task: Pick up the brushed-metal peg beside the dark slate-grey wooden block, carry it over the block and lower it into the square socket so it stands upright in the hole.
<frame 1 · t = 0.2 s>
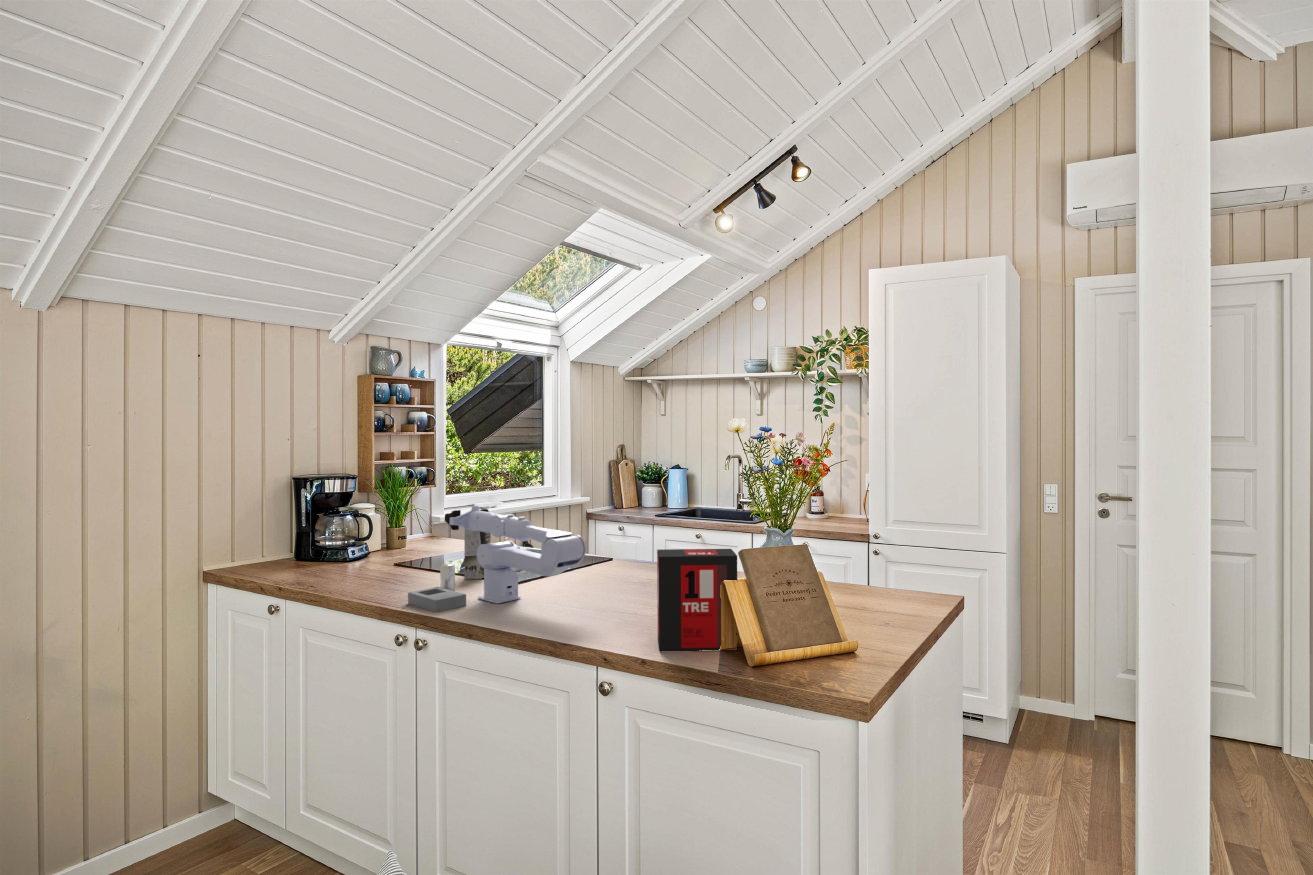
hand: (457, 516, 207), 21 cm above the table, tool horizontal, fingers open, 7 cm apart
coffee box: (478, 576, 225), on the table
peg: (447, 592, 202), on the table
socket block: (436, 604, 188), on the table
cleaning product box: (696, 645, 151), on the table
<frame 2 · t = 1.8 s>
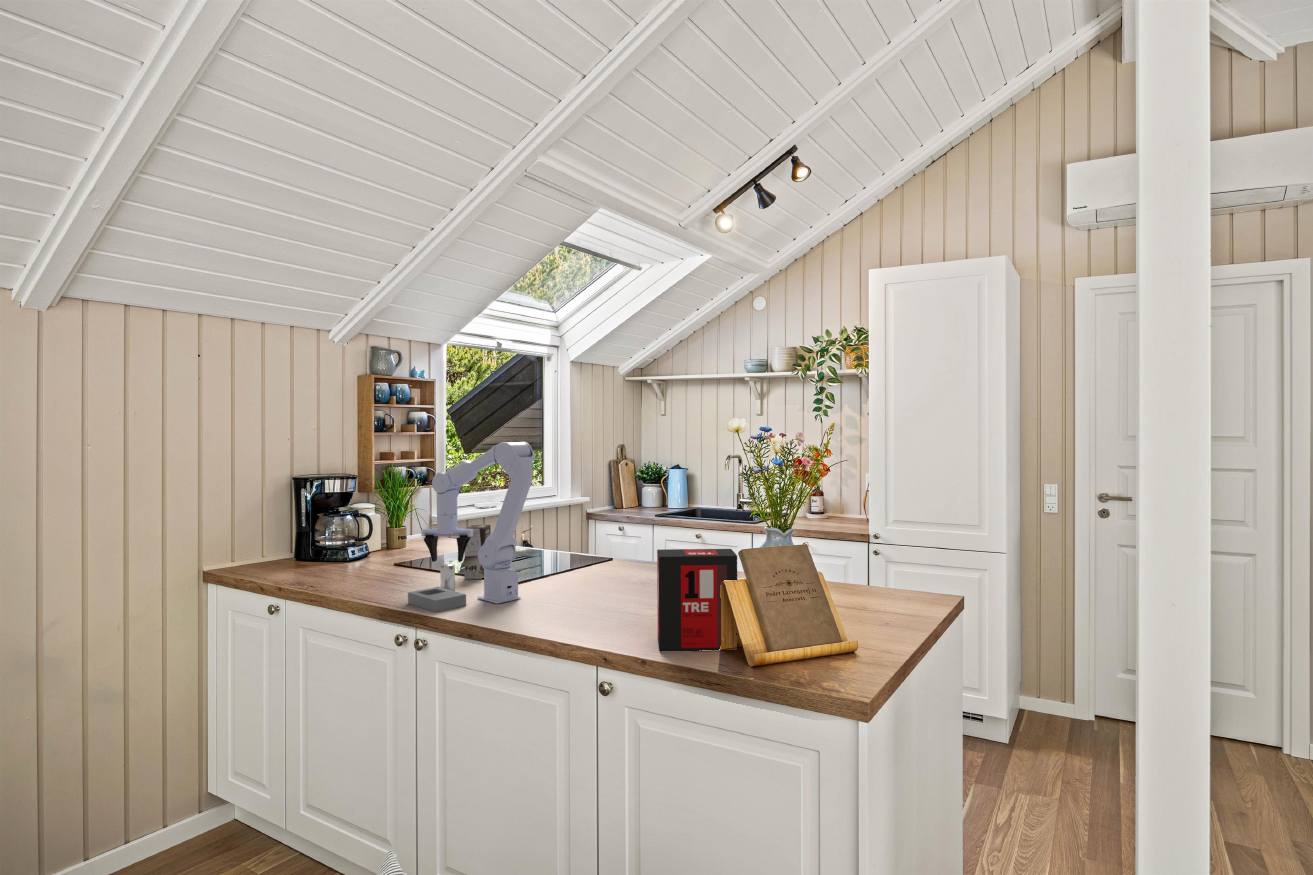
hand: (447, 561, 202), 9 cm above the table, tool pointing down, fingers open, 7 cm apart
nothing on the table moved.
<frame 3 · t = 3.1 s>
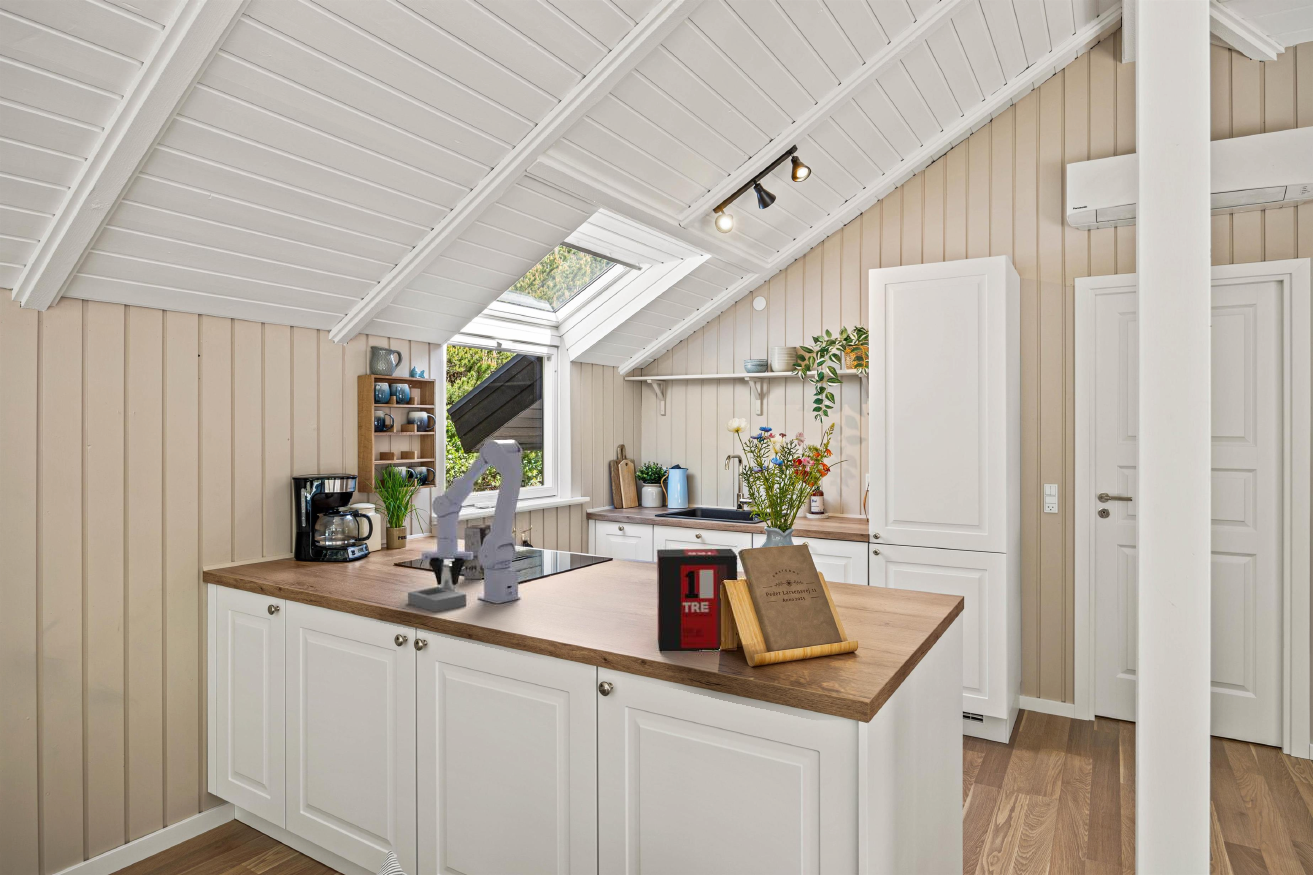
hand: (447, 584, 202), 2 cm above the table, tool pointing down, fingers closed on peg, 4 cm apart
peg: (447, 592, 202), on the table, touching gripper
everything else where it was.
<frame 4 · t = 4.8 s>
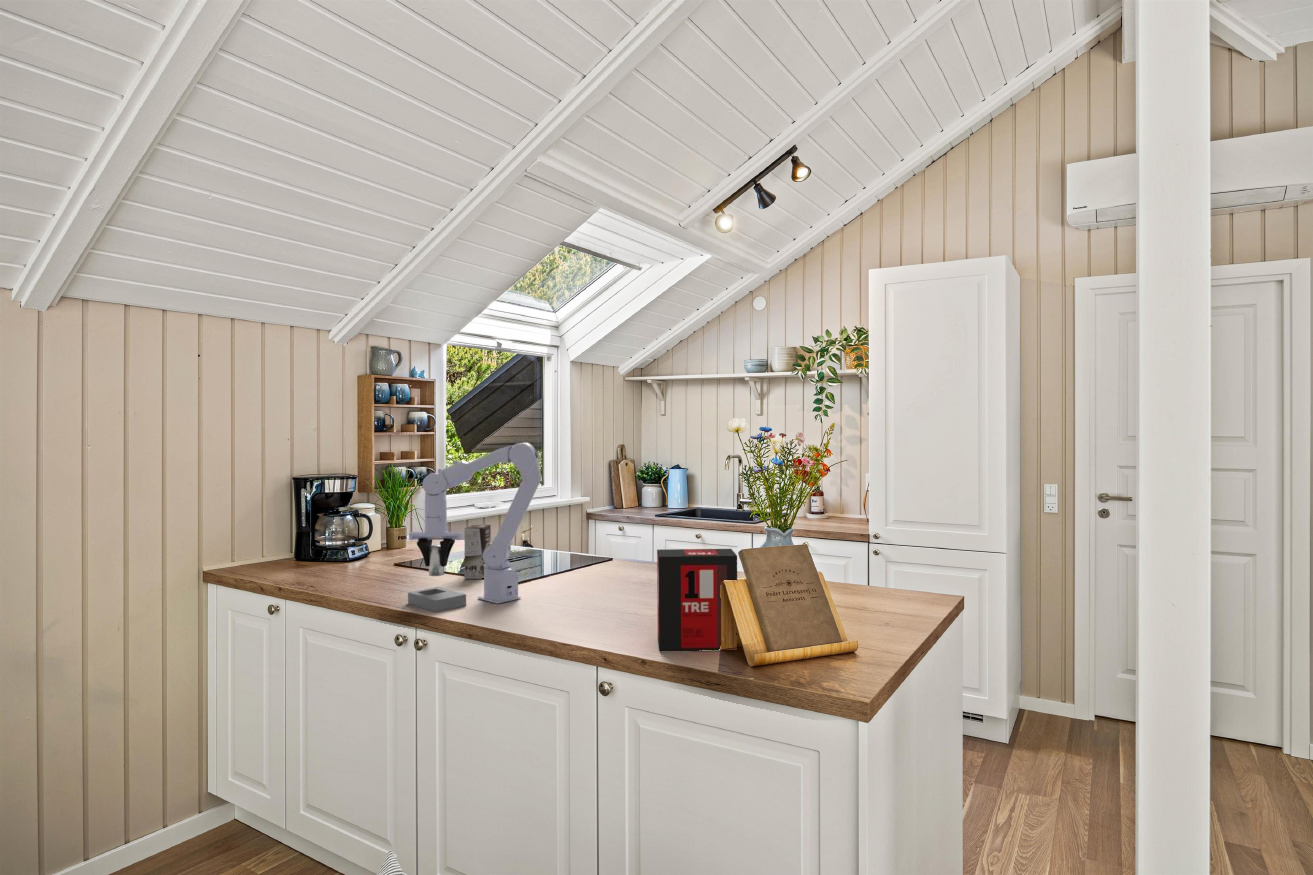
hand: (436, 565, 193), 9 cm above the table, tool pointing down, fingers closed on peg, 4 cm apart
peg: (436, 574, 193), point 7 cm above the table, touching gripper
everything else where it was.
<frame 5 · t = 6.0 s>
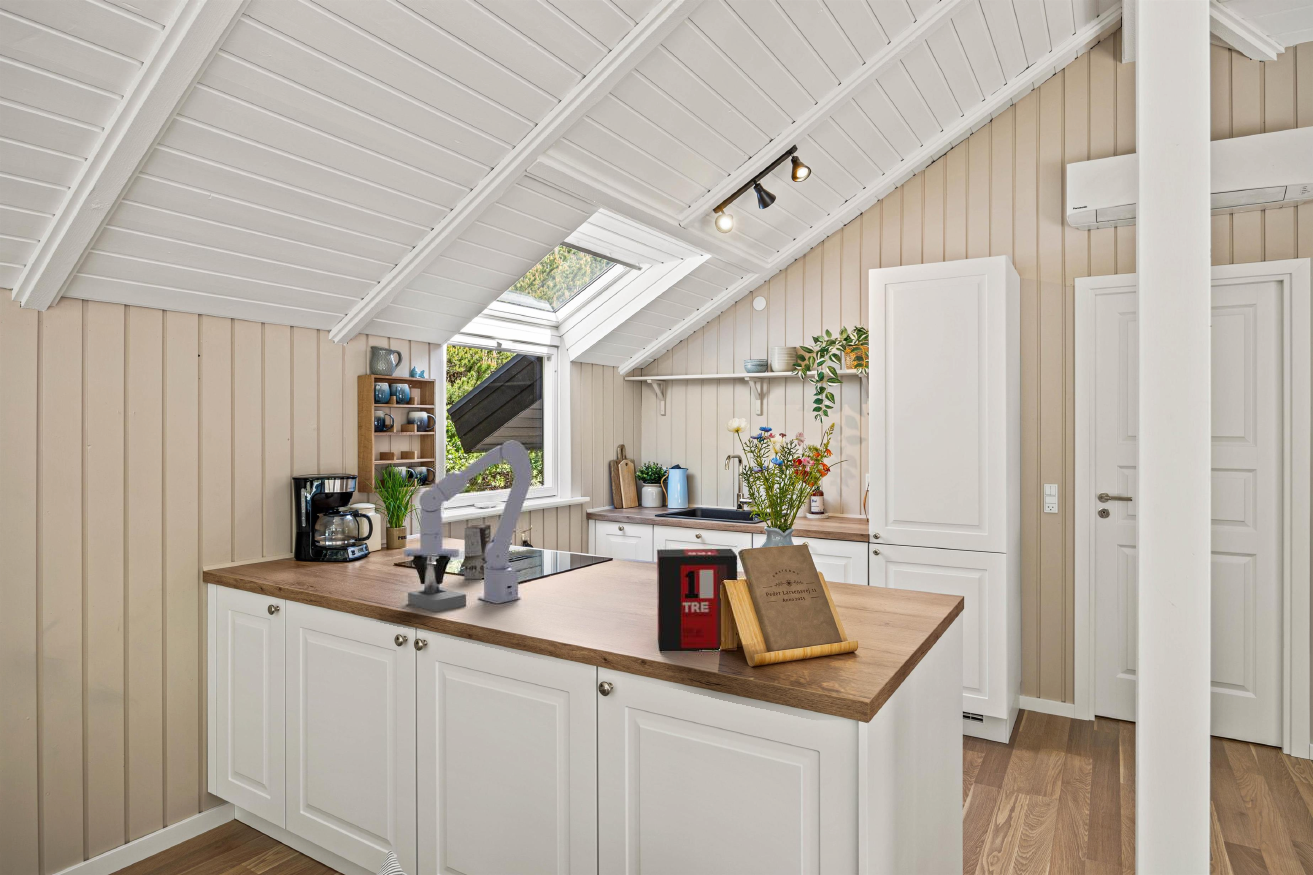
hand: (431, 583, 190), 5 cm above the table, tool pointing down, fingers closed on peg, 4 cm apart
peg: (431, 592, 190), point 3 cm above the table, touching gripper
everything else where it was.
when the fingers open (4 cm above the table, at t = 6.7 s): peg drops 2 cm, resting in socket block.
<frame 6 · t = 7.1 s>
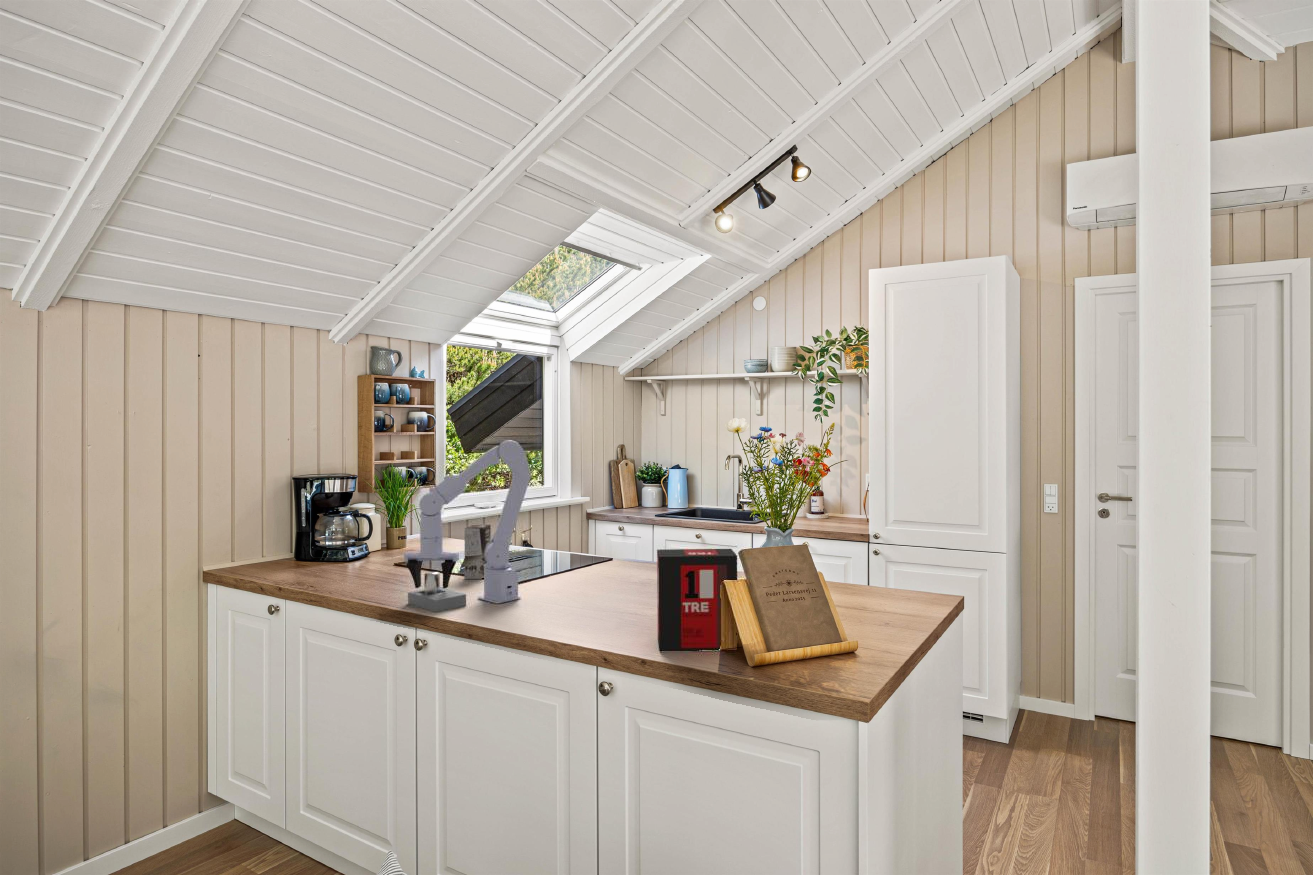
hand: (431, 587, 190), 4 cm above the table, tool pointing down, fingers open, 7 cm apart
peg: (432, 602, 190), resting in socket block
everything else where it was.
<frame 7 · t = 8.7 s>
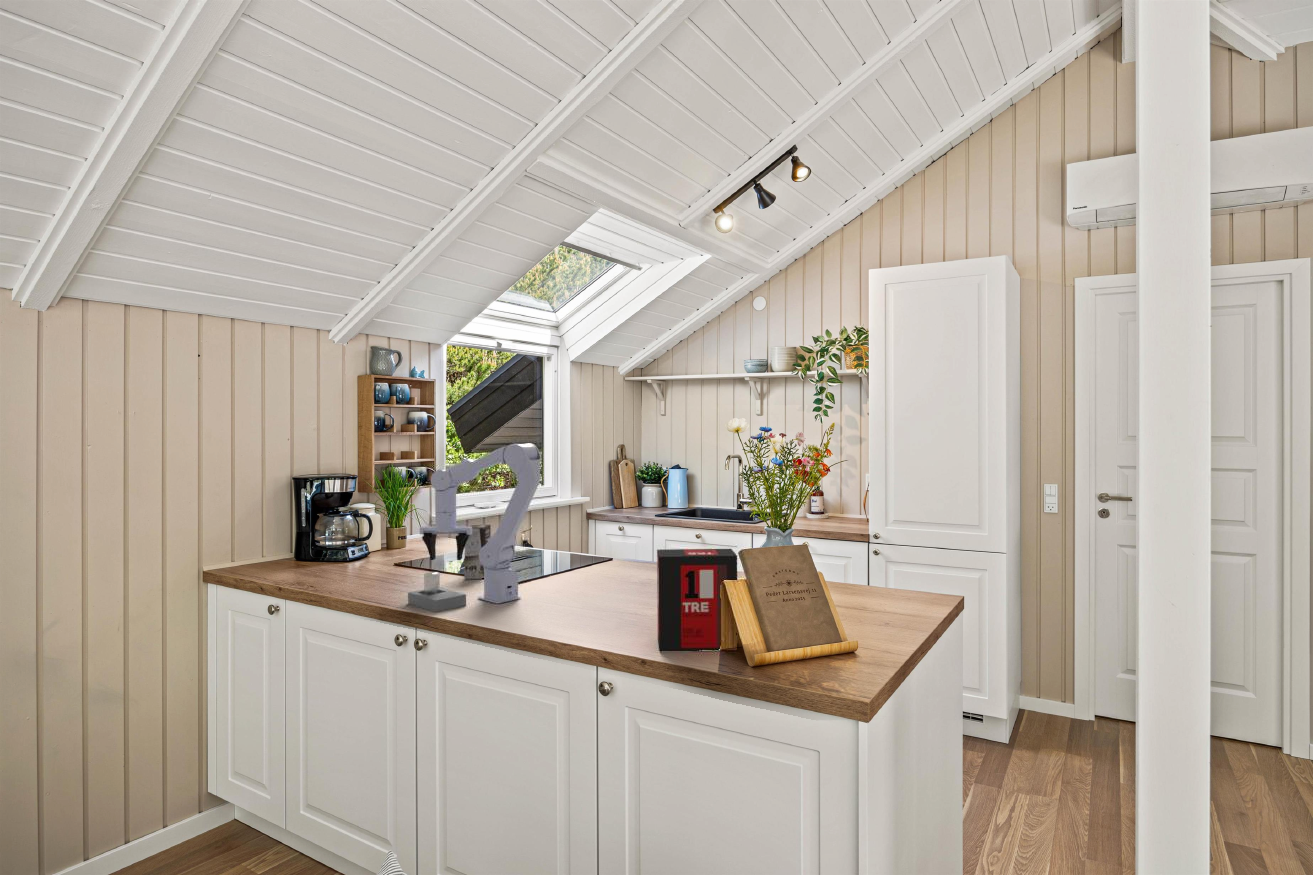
hand: (446, 559, 199), 10 cm above the table, tool pointing down, fingers open, 7 cm apart
nothing on the table moved.
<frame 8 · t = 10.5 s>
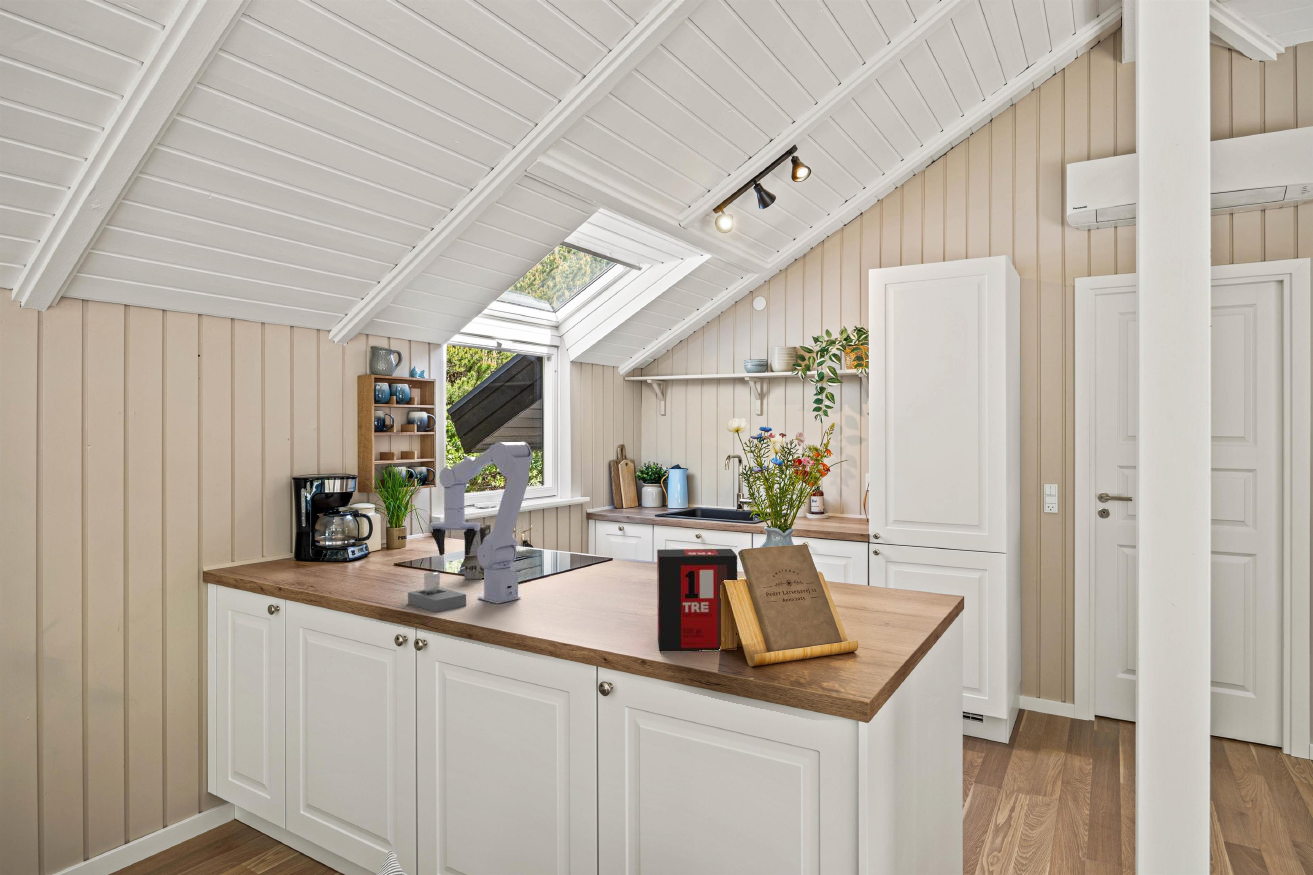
hand: (454, 554, 205), 10 cm above the table, tool pointing down, fingers open, 7 cm apart
nothing on the table moved.
at the end: peg 0.1 cm from the target spot on the socket block, point 0.0 cm above the socket block's base; peg tilted 0°; the gripper is holding nothing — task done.
